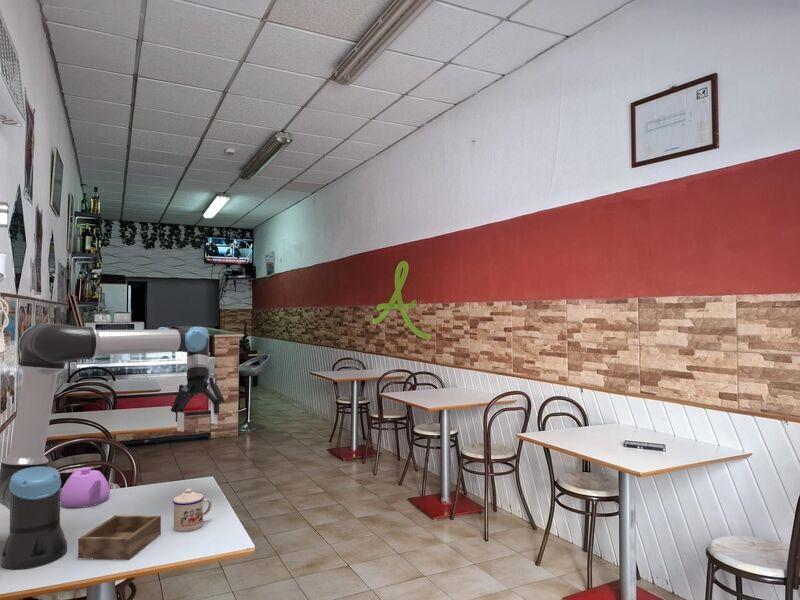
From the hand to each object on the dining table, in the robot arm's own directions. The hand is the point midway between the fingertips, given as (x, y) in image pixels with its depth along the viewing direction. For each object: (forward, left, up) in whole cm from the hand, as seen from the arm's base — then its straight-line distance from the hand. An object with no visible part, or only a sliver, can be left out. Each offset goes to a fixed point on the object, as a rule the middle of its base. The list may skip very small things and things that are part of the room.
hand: (197, 427), depth 191 cm
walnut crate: (-8, -33, -27) cm, 43 cm away
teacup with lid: (+6, -17, -28) cm, 33 cm away
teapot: (-43, +4, -28) cm, 51 cm away
